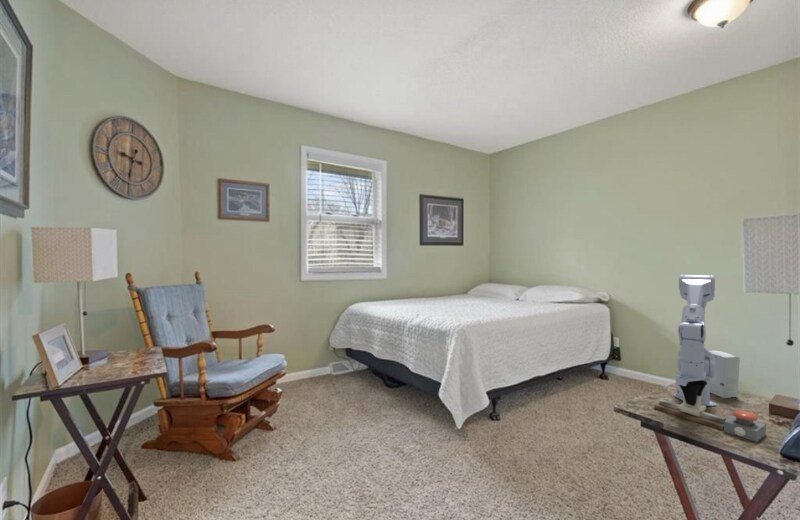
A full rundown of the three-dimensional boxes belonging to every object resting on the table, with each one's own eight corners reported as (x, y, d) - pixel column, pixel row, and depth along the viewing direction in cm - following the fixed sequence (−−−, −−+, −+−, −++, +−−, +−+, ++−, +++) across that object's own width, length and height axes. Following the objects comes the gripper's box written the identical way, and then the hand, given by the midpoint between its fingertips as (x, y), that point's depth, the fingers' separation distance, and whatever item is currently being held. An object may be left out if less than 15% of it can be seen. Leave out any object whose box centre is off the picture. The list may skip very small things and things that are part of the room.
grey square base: (723, 431, 106) (723, 421, 106) (733, 425, 110) (733, 415, 110) (756, 442, 100) (756, 431, 100) (765, 434, 104) (765, 424, 104)
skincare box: (702, 390, 137) (702, 350, 137) (717, 389, 138) (717, 349, 137) (724, 399, 129) (724, 356, 128) (740, 397, 129) (740, 355, 129)
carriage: (678, 411, 117) (678, 394, 116) (687, 407, 120) (686, 390, 120) (697, 417, 112) (697, 399, 112) (705, 412, 115) (705, 395, 115)
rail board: (654, 408, 123) (654, 401, 122) (663, 404, 126) (663, 397, 126) (722, 430, 107) (722, 422, 107) (731, 424, 110) (730, 417, 110)
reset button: (729, 424, 106) (729, 413, 106) (736, 419, 109) (736, 408, 109) (753, 431, 102) (753, 419, 101) (760, 426, 104) (760, 415, 104)
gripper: (687, 354, 123) (688, 394, 123) (666, 361, 115) (666, 404, 116) (714, 359, 117) (714, 401, 117) (693, 367, 109) (693, 412, 109)
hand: (692, 403), depth 116 cm, fingers closed on carriage, 2 cm apart
